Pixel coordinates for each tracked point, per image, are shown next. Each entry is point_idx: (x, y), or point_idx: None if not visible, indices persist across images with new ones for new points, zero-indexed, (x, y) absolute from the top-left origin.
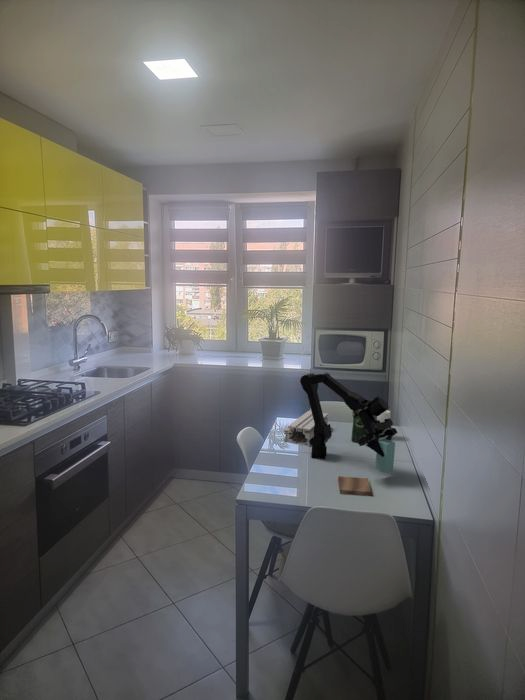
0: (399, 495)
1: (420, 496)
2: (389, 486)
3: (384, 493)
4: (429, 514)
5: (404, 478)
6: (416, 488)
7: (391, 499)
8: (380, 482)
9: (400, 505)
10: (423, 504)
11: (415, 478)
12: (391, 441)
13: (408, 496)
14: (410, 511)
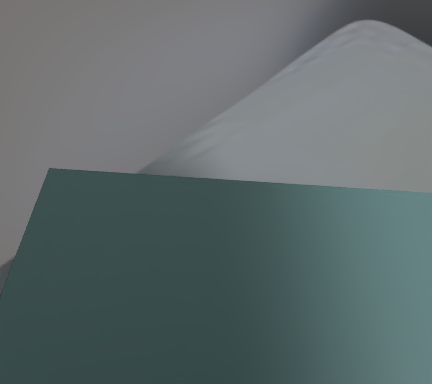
0: (333, 169)
1: (243, 111)
2: None
3: None
4: (347, 27)
5: None
6: (178, 164)
7: (411, 168)
8: None
9: (410, 113)
10: (299, 71)
11: None
12: (44, 305)
13: (298, 140)
14: (404, 68)
